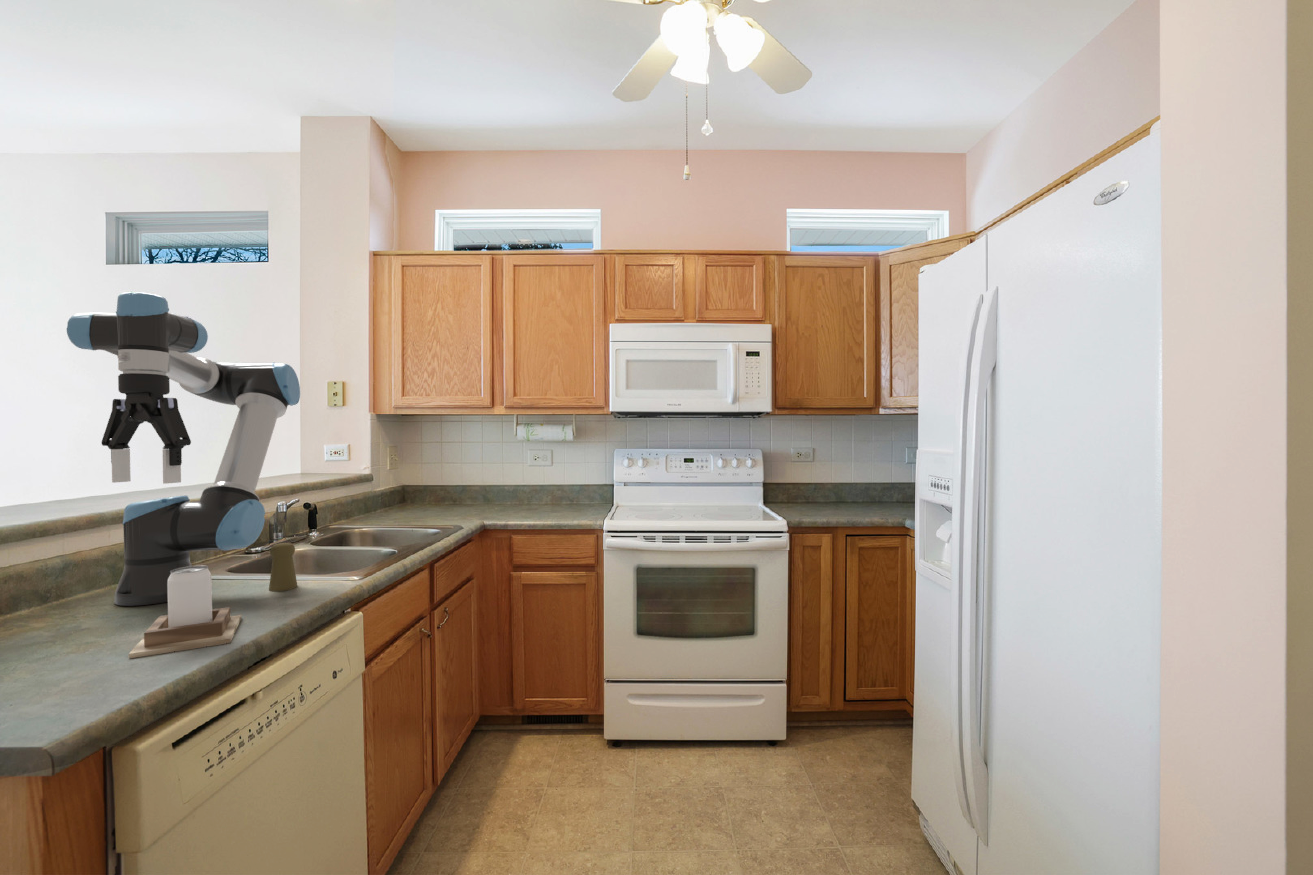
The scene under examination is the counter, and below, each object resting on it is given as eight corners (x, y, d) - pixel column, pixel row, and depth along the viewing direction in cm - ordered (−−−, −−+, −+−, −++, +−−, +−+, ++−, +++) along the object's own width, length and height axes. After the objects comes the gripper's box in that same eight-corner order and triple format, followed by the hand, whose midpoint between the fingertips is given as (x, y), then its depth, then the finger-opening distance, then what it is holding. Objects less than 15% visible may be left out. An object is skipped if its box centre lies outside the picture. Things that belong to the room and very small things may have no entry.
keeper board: (153, 630, 113) (152, 613, 113) (241, 618, 120) (241, 602, 120) (128, 658, 99) (128, 639, 99) (230, 642, 106) (229, 624, 106)
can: (188, 639, 106) (186, 573, 106) (159, 637, 107) (157, 572, 107) (221, 627, 112) (220, 565, 112) (193, 625, 113) (192, 564, 113)
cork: (276, 585, 147) (276, 541, 146) (302, 584, 147) (301, 540, 147) (263, 591, 140) (262, 546, 140) (289, 590, 141) (289, 545, 141)
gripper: (76, 374, 113) (78, 483, 114) (171, 369, 107) (173, 485, 107) (120, 377, 121) (122, 479, 121) (212, 373, 114) (214, 481, 114)
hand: (146, 482), depth 114 cm, fingers open, 13 cm apart
